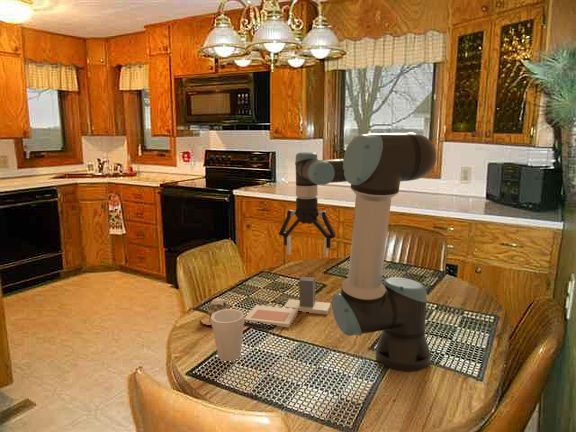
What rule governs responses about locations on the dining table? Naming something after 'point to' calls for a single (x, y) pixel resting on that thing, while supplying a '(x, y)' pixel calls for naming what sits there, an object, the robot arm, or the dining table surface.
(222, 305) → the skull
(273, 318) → the white flat piece
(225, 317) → the foam cup
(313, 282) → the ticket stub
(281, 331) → the dining table surface
